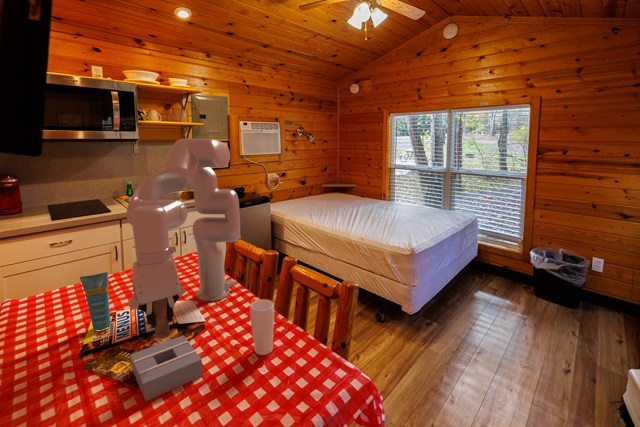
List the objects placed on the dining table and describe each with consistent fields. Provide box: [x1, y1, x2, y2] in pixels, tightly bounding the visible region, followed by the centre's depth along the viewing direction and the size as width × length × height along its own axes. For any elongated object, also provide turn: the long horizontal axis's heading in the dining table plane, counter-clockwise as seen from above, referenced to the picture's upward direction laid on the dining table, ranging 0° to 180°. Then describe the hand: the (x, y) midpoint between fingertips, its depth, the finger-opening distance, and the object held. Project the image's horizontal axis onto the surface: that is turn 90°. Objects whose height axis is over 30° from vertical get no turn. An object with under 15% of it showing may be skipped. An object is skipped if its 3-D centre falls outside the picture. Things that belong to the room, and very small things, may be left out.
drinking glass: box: [249, 298, 275, 356], centre depth 99 cm, size 7×7×15 cm
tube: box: [79, 271, 111, 331], centre depth 109 cm, size 7×5×19 cm, turn 123°
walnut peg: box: [152, 298, 171, 340], centre depth 86 cm, size 4×4×12 cm
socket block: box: [130, 334, 204, 402], centre depth 90 cm, size 14×14×5 cm
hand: (161, 322), depth 87 cm, fingers closed on walnut peg, 3 cm apart
